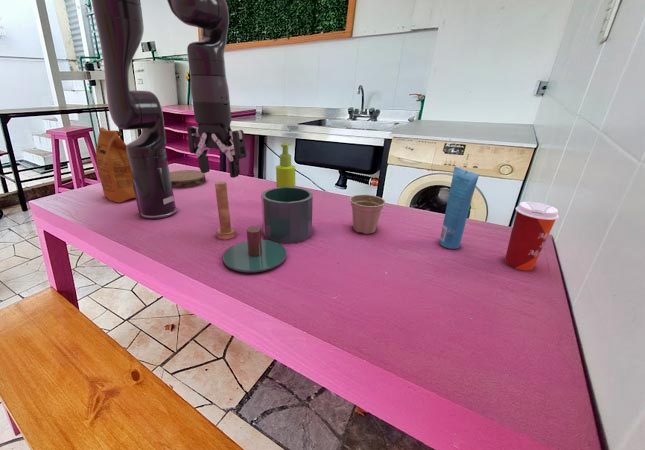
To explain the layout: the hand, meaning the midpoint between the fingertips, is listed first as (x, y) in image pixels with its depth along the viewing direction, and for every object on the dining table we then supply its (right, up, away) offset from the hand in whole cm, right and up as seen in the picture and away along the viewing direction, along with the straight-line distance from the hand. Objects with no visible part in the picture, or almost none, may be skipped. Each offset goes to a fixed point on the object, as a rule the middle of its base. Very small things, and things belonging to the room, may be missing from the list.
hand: (219, 174), depth 70 cm
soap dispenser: (+12, -6, +28) cm, 31 cm away
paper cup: (+69, -21, -2) cm, 72 cm away
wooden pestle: (-1, -15, +7) cm, 16 cm away
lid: (+9, -19, -3) cm, 21 cm away
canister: (+15, -14, +10) cm, 22 cm away
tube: (+56, -17, +6) cm, 59 cm away
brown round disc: (-30, +5, +48) cm, 57 cm away
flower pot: (+36, -13, +13) cm, 40 cm away
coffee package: (-42, -3, +30) cm, 52 cm away
